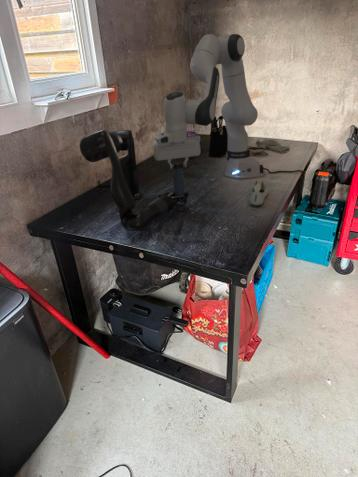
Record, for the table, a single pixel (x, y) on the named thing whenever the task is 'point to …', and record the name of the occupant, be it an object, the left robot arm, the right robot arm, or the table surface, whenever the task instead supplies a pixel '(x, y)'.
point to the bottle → (179, 186)
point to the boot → (213, 125)
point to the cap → (178, 165)
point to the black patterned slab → (218, 140)
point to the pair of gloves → (267, 144)
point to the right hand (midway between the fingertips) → (178, 167)
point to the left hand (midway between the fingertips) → (182, 193)
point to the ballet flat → (258, 193)
